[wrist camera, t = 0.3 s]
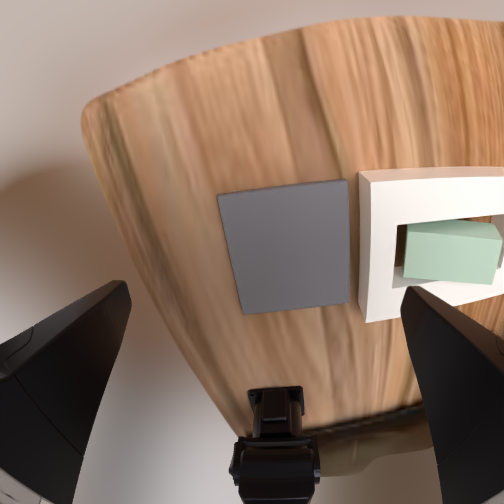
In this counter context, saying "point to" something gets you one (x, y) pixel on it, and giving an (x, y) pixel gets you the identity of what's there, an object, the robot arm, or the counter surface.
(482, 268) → the sage block
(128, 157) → the counter surface
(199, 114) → the counter surface
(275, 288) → the rubber mat
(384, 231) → the white rectangular frame
